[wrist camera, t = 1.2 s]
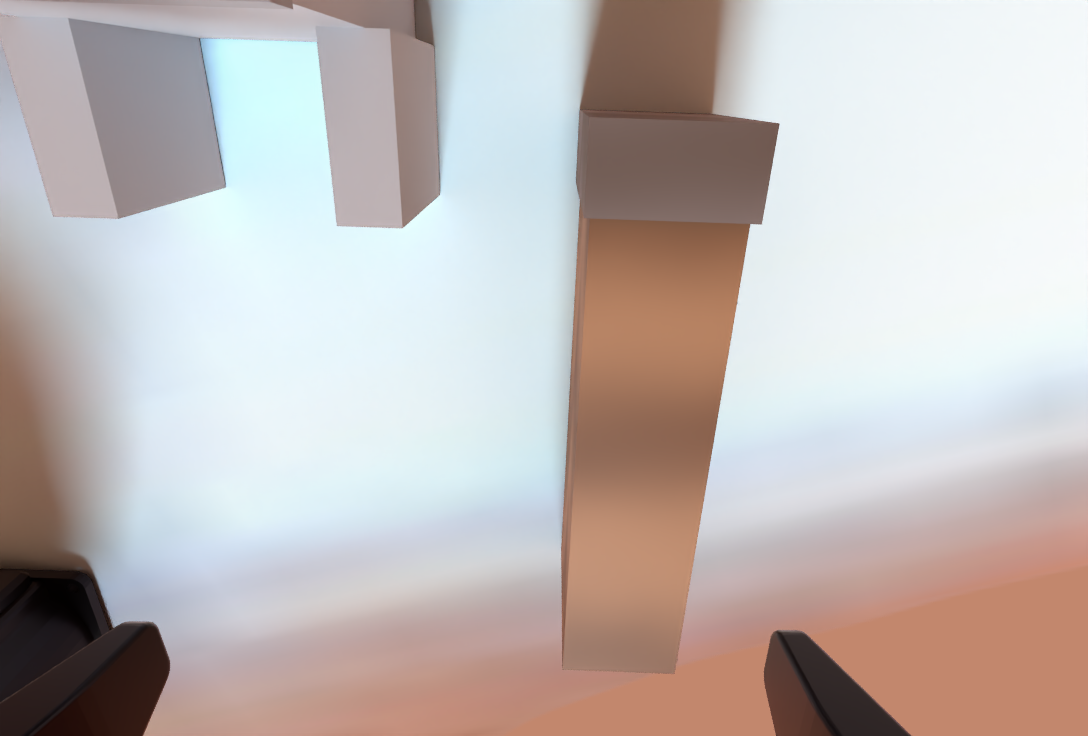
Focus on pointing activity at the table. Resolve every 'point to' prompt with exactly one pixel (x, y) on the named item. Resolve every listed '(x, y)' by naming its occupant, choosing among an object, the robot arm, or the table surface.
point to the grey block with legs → (185, 109)
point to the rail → (649, 367)
